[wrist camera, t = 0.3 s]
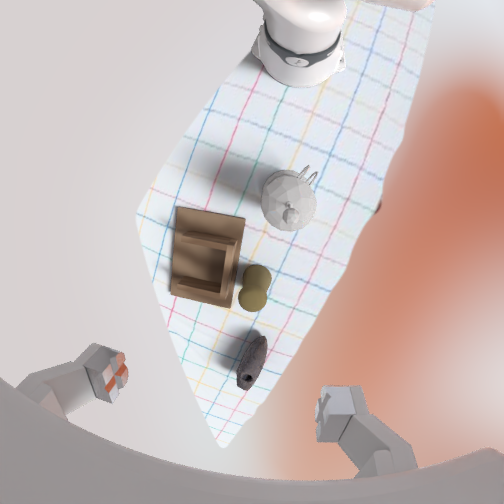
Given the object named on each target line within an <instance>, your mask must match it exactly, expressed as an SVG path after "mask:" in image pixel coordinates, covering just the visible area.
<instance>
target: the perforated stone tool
mask: <svg viewBox="0 0 504 504" xmlns="http://www.w3.org/2000/svg"><path fill="white" fill-rule="evenodd" d="M266 354H267V339H266V337H265V336H261V337H259V338H257V339H256V340H255V341H254V342H253V343H252V344H251V345H250V347H249V348H248V349H247V351H246V353H245V355H244V356H243V358H242V361H241V364H240V365H239V367H238V369H237V373H236V374H237V386H238V387H240V388H242V389H243V390H247V391H248V390H249V389H250V388H251V387H252V385H253V384H254V383H255V381H256V379H257V378H258V376H259V374H260V372H261V370H262V368H263V365H264V362H265V358H266Z"/></svg>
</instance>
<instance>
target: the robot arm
mask: <svg viewBox="0 0 504 504" xmlns="http://www.w3.org/2000/svg"><path fill="white" fill-rule="evenodd" d="M253 1H255V2H256V3H257V4H258V5H259V6H260V7H261V8H262V9H263V12H264V16H263V20H264V24H263V25H261V26H260V29H259V30H260V32H259V34H258V36H257V38H256V40H255V42H254V44H253V46H252V49H251V51H252V54H253V55H254V56H255V57H257V58H258V59H259V60H261V61H262V63H263V64H264V66H265V68H266V70H267V71H268V73H269V74H270V75H271V76H272V77H273V78H274V79H276V80H277V81H279V82H281V83H283V84H285V85H288V86H292V87H298V88H305V87H312V86H315V85H318V84H320V83H322V82H323V81H325V80H326V79H327V78H328V77H329V76H331V75H332V74H335V73H339V72H341V71H343V70H344V69H345V67H346V63H345V54H344V45H343V38H342V31H341V28H342V25H343V23H344V21H345V19H346V14H347V9H346V4H345V2H344V0H253ZM360 1H364V2H367V3H370V4H375V5H381V6H386V7H391V8H396V9H401V10H406V11H411V12H416V11H419V10H422V9H424V8H426V7H428V6H429V5H431V4H432V3H433V2H434V1H435V0H360ZM340 60H341V62H340ZM124 361H125V356H124V353H122V352H120V351H117V350H114V349H111V348H108V347H105V346H102V345H99V344H96V343H92V344H91V345H90V346H89V347H88V348H87V349H86V350H85V351H84V352H83V353H82V354H81V355H80V356H79V357H78V358H77V359H76V360H75V361H74V362H71V361H70V362H67V363H64V364H61V365H58V366H55V367H51V368H48V369H45V370H42V371H38V372H35V373H31V374H29V375H28V376H27V377H26V378H25V379H24V380H23V381H22V382H21V383H20V384H19V385H18V386H17V387H16V388H13V387H12V386H11V385H10V384H8V383H7V382H5V381H4V380H3V379H1V378H0V504H504V454H503V453H502V452H500V451H498V450H497V449H494V448H492V447H485V448H482V449H479V450H476V451H474V452H471V453H468V454H466V455H463V456H460V457H457V458H454V459H451V460H447V461H444V462H441V463H437V464H434V465H430V466H426V467H422V468H418V466H417V463H416V460H415V456H414V453H413V450H412V447H411V445H410V444H409V443H408V442H406V441H405V440H404V439H403V438H401V437H400V436H399V435H398V434H396V433H395V432H394V431H393V430H391V429H390V428H389V427H388V426H386V425H385V424H384V423H383V422H382V421H380V420H379V419H378V418H377V417H376V416H374V415H373V414H369V411H368V407H367V404H366V400H365V397H364V393H363V390H362V387H361V386H360V385H359V386H332V385H324V386H323V387H322V390H321V398H320V399H318V402H317V404H316V409H315V421H316V422H317V423H318V426H317V428H316V436H317V442H338V444H339V446H340V447H341V448H342V450H343V451H344V452H345V453H346V455H347V456H348V457H349V458H350V459H351V461H352V462H353V463H354V464H355V466H357V468H358V469H359V470H360V471H359V472H358V474H357V475H356V476H355V477H354V478H353V479H344V480H326V481H324V480H323V481H294V480H293V481H292V480H274V479H261V478H251V477H243V476H235V475H229V474H223V473H217V472H212V471H207V470H202V469H197V468H193V467H188V466H184V465H180V464H176V463H172V462H169V461H166V460H162V459H158V458H155V457H152V456H149V455H146V454H143V453H140V452H137V451H134V450H132V449H129V448H126V447H124V446H121V445H118V444H116V443H113V442H111V441H109V440H106V439H104V438H101V437H99V436H97V435H95V434H93V433H90V432H88V431H86V430H84V429H82V428H80V427H78V426H76V425H74V424H72V423H70V422H69V421H68V419H67V418H66V416H65V415H66V414H68V413H70V412H72V411H74V410H76V409H78V408H80V407H82V406H84V405H86V404H87V403H89V402H91V401H93V400H95V399H96V398H98V399H101V400H103V401H106V402H109V403H113V402H114V401H115V399H116V398H117V396H118V395H119V390H118V389H120V388H123V387H124V386H125V384H126V383H127V379H128V369H127V367H126V365H125V364H124V363H123V362H124Z"/></svg>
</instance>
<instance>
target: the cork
mask: <svg viewBox="0 0 504 504" xmlns="http://www.w3.org/2000/svg"><path fill="white" fill-rule="evenodd" d="M271 279H272V278H271V274H270V272H269V270H268V269H267V268H266V267H264V266H261V265H252V266H250V267H248V268H247V269H246V270H245V272H244V274H243V288H242V289H241V290H240V292H239V295H238V300H239V304H240V305H241V307H242V308H243V309H245V310H247V311H250V312H257V311H259V310H261V309H262V308H263V307H264V306H265V304H266V302H267V294H266V292H267V290H268V288H269V286H270V283H271Z"/></svg>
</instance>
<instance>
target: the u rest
mask: <svg viewBox="0 0 504 504" xmlns="http://www.w3.org/2000/svg"><path fill="white" fill-rule="evenodd" d="M245 220H246V219H245V218H239V217H234V216H229V215H223V214H218V213H212V212H207V211H201V210H195V209H190V208H184V207H178V210H177V219H176V229H175V239H174V251H173V263H172V278H171V295H174V296H178V297H182V298H187V299H191V300H195V301H199V302H203V303H208V304H212V305H216V306H221V307H225V308H231V303H232V297H233V291H234V285H235V279H236V273H237V267H238V261H239V255H240V249H241V243H242V237H243V231H244V226H245Z"/></svg>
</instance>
